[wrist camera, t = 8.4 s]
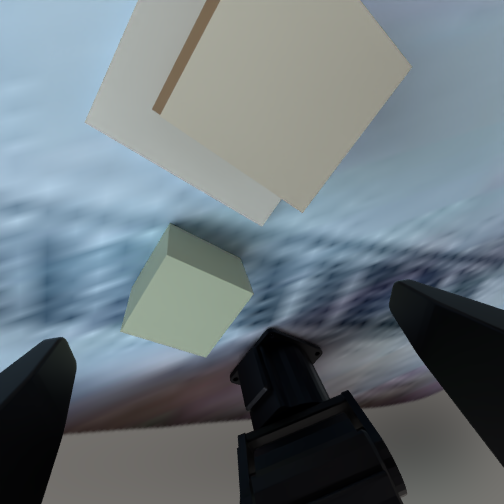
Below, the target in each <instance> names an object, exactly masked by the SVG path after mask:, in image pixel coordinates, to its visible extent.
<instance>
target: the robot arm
mask: <svg viewBox="0 0 504 504" xmlns="http://www.w3.org/2000/svg"><path fill="white" fill-rule="evenodd" d="M389 308H390V311H391V313H392V315H393V316H394V318H395V319H396V321H397V322H398V324H399V326H400V327H401V329H402V330H403V332H404V334H405V335H406V337H407V338H408V340H409V342H410V343H411V345H412V346H413V348H414V350H415V351H416V353H417V354H418V356H419V357H420V358H421V360H422V361H423V362H424V364H425V365H426V366H427V368H428V369H429V370H430V372H431V373H432V374H433V376H434V377H435V378H436V380H437V381H438V382H439V383H440V385H441V386H442V387H443V389H444V390H445V391H446V393H447V394H448V395H449V397H450V398H451V399H452V400H453V402H454V403H455V404H456V406H457V407H458V408H459V410H460V411H461V412H462V414H463V415H464V416H465V417H466V419H467V420H468V421H469V423H470V424H471V425H472V427H473V428H474V429H475V430H476V432H477V433H478V434H479V436H480V437H481V438H482V440H483V441H484V442H485V444H486V445H487V446H488V448H489V449H490V450H491V451H492V453H493V454H494V455H495V457H496V458H497V459H498V461H499V462H500V463H501V464H502V466H503V467H504V310H502V309H499V308H496V307H493V306H490V305H487V304H484V303H481V302H478V301H475V300H472V299H468V298H465V297H462V296H459V295H456V294H453V293H450V292H447V291H444V290H441V289H438V288H435V287H432V286H429V285H425V284H422V283H419V282H416V281H413V280H409V279H406V280H400V281H396V282H395V283H394V284H393V288H392V292H391V297H390V301H389ZM270 334H272V335H270ZM321 355H322V350H321V348H320V347H318V346H316V345H313V344H311V343H308V342H306V341H303V340H301V339H298V338H296V337H293V336H291V335H288V334H286V333H283V332H281V331H278V330H276V329H272V328H270V329H268V330H266V331H265V332H264V334H263V335H262V336H261V337H260V339H259V340H258V341H257V342H256V344H255V345H254V346H253V347H252V348H251V350H250V351H249V352H248V353H247V355H246V356H245V357H244V358H243V360H242V361H241V362H240V363H239V365H238V366H237V367H236V368H235V369H234V371H233V372H232V373H231V374H230V381H231V382H232V383H235V384H238V385H241V389H242V394H243V398H244V403H245V408H246V410H247V411H249V412H250V416H251V420H252V425H253V429H254V431H251V432H249V433H247V434H245V433H243V434H241V435H238V446H239V447H238V448H237V454H238V470H239V483H240V484H239V485H240V504H403V502H402V500H401V497H404V496H406V495H407V490H406V487H405V484H404V481H403V479H402V476H401V474H400V472H399V470H398V467H397V465H396V463H395V461H394V459H393V457H392V455H391V454H390V452H389V450H388V448H387V446H386V445H385V443H384V441H383V440H382V438H381V437H380V435H379V434H378V432H377V431H376V429H375V428H374V426H373V425H372V423H371V422H370V421H369V419H368V418H367V416H366V415H365V413H364V412H363V411H362V409H361V408H360V406H359V405H358V403H357V402H356V400H355V399H354V398H353V396H352V395H351V393H350V392H349V390H346V391H344V392H342V393H341V394H340V395H338V396H336V397H333V398H331V399H330V398H329V396H328V394H327V392H326V390H325V388H324V386H323V384H322V382H321V380H320V378H319V376H318V374H317V372H316V370H315V368H314V366H313V364H314V363H315V361H316V360H317V359H318V358H319V357H320V356H321ZM76 368H77V366H76V360H75V358H74V356H73V353H72V351H71V349H70V347H69V344H68V342H67V341H66V339H65V338H63V337H58V338H52V339H46V340H43V341H42V342H40V343H39V344H38V345H36V346H35V347H34V348H32V349H31V350H30V351H29V352H27V353H26V354H25V355H23V356H22V357H21V358H19V359H18V360H17V361H15V362H14V363H13V364H11V365H10V366H9V367H7V368H6V369H5V370H3V371H2V372H1V373H0V504H41V503H42V500H43V497H44V494H45V491H46V487H47V484H48V481H49V478H50V475H51V472H52V468H53V465H54V462H55V459H56V456H57V452H58V449H59V446H60V443H61V439H62V436H63V432H64V428H65V424H66V419H67V414H68V409H69V404H70V399H71V394H72V389H73V384H74V379H75V374H76Z"/></svg>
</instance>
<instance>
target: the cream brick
mask: <svg viewBox="0 0 504 504" xmlns="http://www.w3.org/2000/svg"><path fill="white" fill-rule="evenodd" d="M411 68H412V66H411V65H410V63H409V62H408V61H407V60H406V58H405V57H404V56H403V54H402V53H401V52H400V51H399V49H398V48H397V47H396V45H395V44H394V43H393V42H392V40H391V39H390V38H389V37H388V35H387V34H386V33H385V31H384V30H383V29H382V28H381V26H380V25H379V24H378V22H377V21H376V20H375V19H374V17H373V16H372V15H371V14H370V12H369V11H368V10H367V8H366V7H365V6H364V5H363V3H362V2H361V1H360V0H220V2H219V4H218V6H217V8H216V10H215V12H214V14H213V15H212V17H211V19H210V21H209V23H208V25H207V27H206V29H205V31H204V33H203V35H202V36H201V38H200V40H199V42H198V44H197V46H196V48H195V50H194V52H193V54H192V55H191V57H190V59H189V61H188V63H187V65H186V67H185V69H184V71H183V73H182V75H181V76H180V78H179V80H178V82H177V84H176V86H175V88H174V90H173V92H172V94H171V95H170V97H169V99H168V101H167V103H166V105H165V107H164V109H163V111H162V113H161V114H160V117H162V118H163V119H165V120H166V121H168V122H169V123H170V124H172V125H173V126H175V127H176V128H178V129H179V130H181V131H182V132H184V133H185V134H187V135H188V136H190V137H191V138H193V139H194V140H196V141H197V142H198V143H200V144H201V145H203V146H204V147H206V148H207V149H209V150H210V151H212V152H213V153H215V154H216V155H218V156H219V157H221V158H222V159H224V160H225V161H227V162H228V163H229V164H231V165H232V166H234V167H235V168H237V169H238V170H240V171H241V172H243V173H244V174H246V175H247V176H249V177H250V178H252V179H253V180H255V181H256V182H257V183H259V184H260V185H262V186H263V187H265V188H266V189H268V190H269V191H271V192H272V193H274V194H275V195H277V196H278V197H280V198H281V199H283V200H284V201H285V202H287V203H288V204H290V205H291V206H293V207H294V208H296V209H297V210H299V211H300V212H302V213H303V212H304V210H305V209H306V208H307V206H308V205H309V204H310V202H311V201H312V200H313V198H314V197H315V196H316V194H317V193H318V192H319V190H320V189H321V188H322V186H323V185H324V184H325V182H326V181H327V180H328V178H329V177H330V176H331V174H332V173H333V172H334V170H335V169H336V168H337V166H338V165H339V164H340V162H341V161H342V160H343V158H344V157H345V156H346V154H347V153H348V152H349V151H350V149H351V148H352V147H353V145H354V144H355V143H356V141H357V140H358V139H359V137H360V136H361V135H362V133H363V132H364V131H365V129H366V128H367V127H368V125H369V124H370V123H371V121H372V120H373V119H374V117H375V116H376V115H377V113H378V112H379V111H380V109H381V108H382V107H383V105H384V104H385V103H386V101H387V100H388V99H389V97H390V96H391V95H392V93H393V92H394V91H395V89H396V88H397V87H398V85H399V84H400V83H401V81H402V80H403V79H404V77H405V76H406V75H407V73H408V72H409V71H410V69H411Z"/></svg>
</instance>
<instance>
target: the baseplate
mask: <svg viewBox="0 0 504 504" xmlns="http://www.w3.org/2000/svg"><path fill="white" fill-rule="evenodd" d="M219 2H220V0H138V1H137V4H136V6H135V8H134V11H133V13H132V15H131V18H130V20H129V22H128V24H127V27H126V29H125V31H124V34H123V36H122V38H121V40H120V43H119V45H118V47H117V50H116V52H115V54H114V56H113V59H112V61H111V63H110V66H109V68H108V70H107V72H106V75H105V77H104V79H103V82H102V84H101V86H100V88H99V91H98V93H97V95H96V98H95V100H94V102H93V104H92V107H91V109H90V111H89V114H88V116H87V118H86V120H85V123H86V124H88V125H90V126H91V127H93V128H95V129H96V130H98V131H100V132H102V133H103V134H105V135H107V136H108V137H110V138H112V139H114V140H115V141H117V142H119V143H120V144H122V145H124V146H125V147H127V148H129V149H131V150H132V151H134V152H136V153H137V154H139V155H141V156H142V157H144V158H146V159H148V160H149V161H151V162H153V163H154V164H156V165H158V166H160V167H161V168H163V169H165V170H166V171H168V172H170V173H171V174H173V175H175V176H177V177H178V178H180V179H182V180H183V181H185V182H187V183H189V184H190V185H192V186H194V187H195V188H197V189H199V190H200V191H202V192H204V193H206V194H207V195H209V196H211V197H212V198H214V199H216V200H217V201H219V202H221V203H223V204H224V205H226V206H228V207H229V208H231V209H233V210H235V211H236V212H238V213H240V214H241V215H243V216H245V217H246V218H248V219H250V220H252V221H253V222H255V223H257V224H258V225H260V226H263V225H264V223H265V222H266V220H267V219H268V217H269V216H270V215H271V213H272V212H273V210H274V209H275V208H276V206H277V205H278V203H279V202H280V200H281V198H280V197H278V196H277V195H275V194H274V193H272V192H271V191H269V190H268V189H266V188H265V187H263V186H262V185H260V184H259V183H257V182H256V181H255V180H253V179H252V178H250V177H249V176H247V175H246V174H244V173H243V172H241V171H240V170H238V169H237V168H235V167H234V166H232V165H231V164H229V163H228V162H227V161H225V160H224V159H222V158H221V157H219V156H218V155H216V154H215V153H213V152H212V151H210V150H209V149H207V148H206V147H204V146H203V145H201V144H200V143H198V142H197V141H196V140H194V139H193V138H191V137H190V136H188V135H187V134H185V133H184V132H182V131H181V130H179V129H178V128H176V127H175V126H173V125H172V124H170V123H169V122H168V121H166V120H165V119H163V118H162V117H160V114H161V113H162V111H163V109H164V107H165V105H166V103H167V101H168V99H169V97H170V95H171V94H172V92H173V90H174V88H175V86H176V84H177V82H178V80H179V78H180V76H181V75H182V73H183V71H184V69H185V67H186V65H187V63H188V61H189V59H190V57H191V55H192V54H193V52H194V50H195V48H196V46H197V44H198V42H199V40H200V38H201V36H202V35H203V33H204V31H205V29H206V27H207V25H208V23H209V21H210V19H211V17H212V15H213V14H214V12H215V10H216V8H217V6H218V4H219Z"/></svg>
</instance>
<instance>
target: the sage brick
mask: <svg viewBox="0 0 504 504" xmlns="http://www.w3.org/2000/svg"><path fill="white" fill-rule="evenodd" d="M253 294H254V293H253V290H252V288H251V285H250V282H249V280H248V277H247V275H246V272H245V269H244V267H243V264H242V261H241V259H240V258H239V257H237V256H235V255H233V254H231V253H229V252H227V251H225V250H223V249H221V248H219V247H217V246H215V245H213V244H211V243H209V242H207V241H205V240H203V239H201V238H199V237H197V236H195V235H193V234H191V233H189V232H187V231H185V230H183V229H181V228H179V227H177V226H175V225H173V224H171V223H170V224H169V225H168V227H167V229H166V230H165V232H164V234H163V235H162V237H161V239H160V241H159V242H158V244H157V246H156V247H155V249H154V251H153V253H152V254H151V256H150V258H149V259H148V261H147V263H146V264H145V266H144V268H143V270H142V271H141V273H140V275H139V276H138V278H137V280H136V282H135V283H134V285H133V287H132V289H131V293H130V297H129V301H128V304H127V308H126V312H125V316H124V320H123V323H122V327H121V331H120V332H123V333H126V334H130V335H133V336H136V337H140V338H143V339H146V340H150V341H153V342H156V343H159V344H163V345H166V346H169V347H173V348H176V349H179V350H183V351H186V352H189V353H193V354H196V355H199V356H203V357H207V355H208V354H209V353H210V351H211V350H212V349H213V347H214V346H215V345H216V343H217V342H218V341H219V339H220V338H221V337H222V335H223V334H224V333H225V331H226V330H227V329H228V327H229V326H230V325H231V323H232V322H233V321H234V319H235V318H236V317H237V315H238V314H239V313H240V311H241V310H242V309H243V307H244V306H245V305H246V303H247V302H248V301H249V299H250V298H251V297H252V295H253Z"/></svg>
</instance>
